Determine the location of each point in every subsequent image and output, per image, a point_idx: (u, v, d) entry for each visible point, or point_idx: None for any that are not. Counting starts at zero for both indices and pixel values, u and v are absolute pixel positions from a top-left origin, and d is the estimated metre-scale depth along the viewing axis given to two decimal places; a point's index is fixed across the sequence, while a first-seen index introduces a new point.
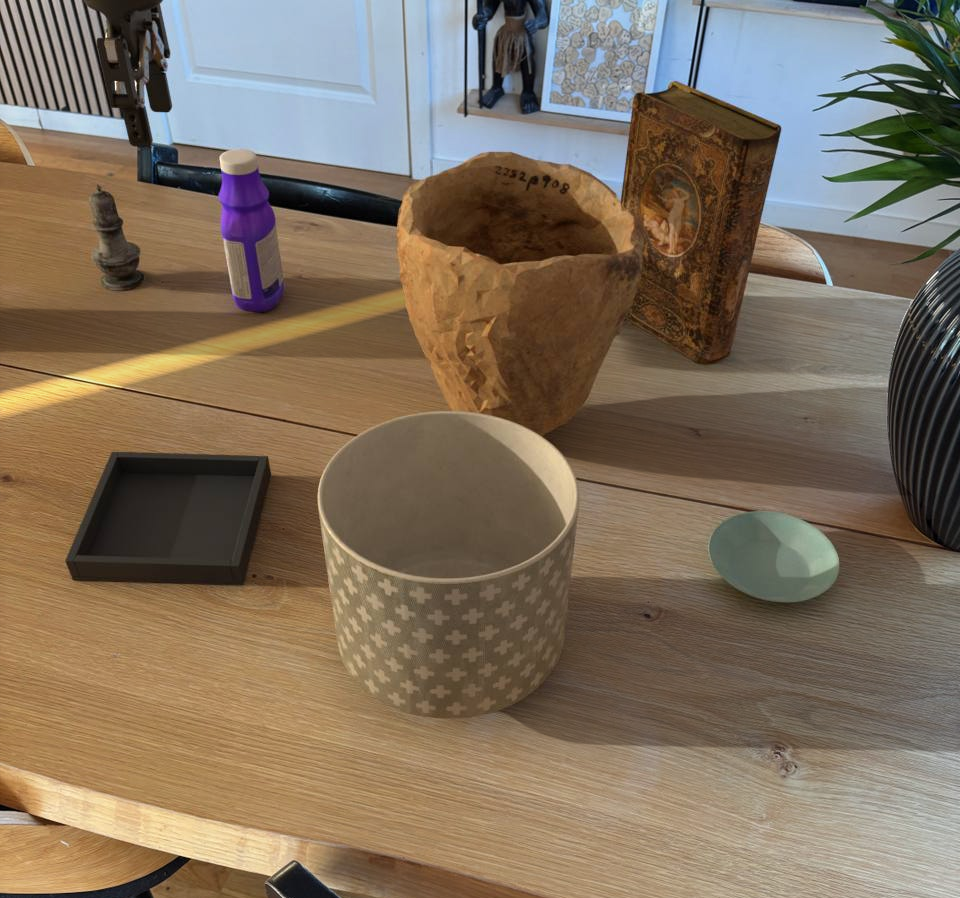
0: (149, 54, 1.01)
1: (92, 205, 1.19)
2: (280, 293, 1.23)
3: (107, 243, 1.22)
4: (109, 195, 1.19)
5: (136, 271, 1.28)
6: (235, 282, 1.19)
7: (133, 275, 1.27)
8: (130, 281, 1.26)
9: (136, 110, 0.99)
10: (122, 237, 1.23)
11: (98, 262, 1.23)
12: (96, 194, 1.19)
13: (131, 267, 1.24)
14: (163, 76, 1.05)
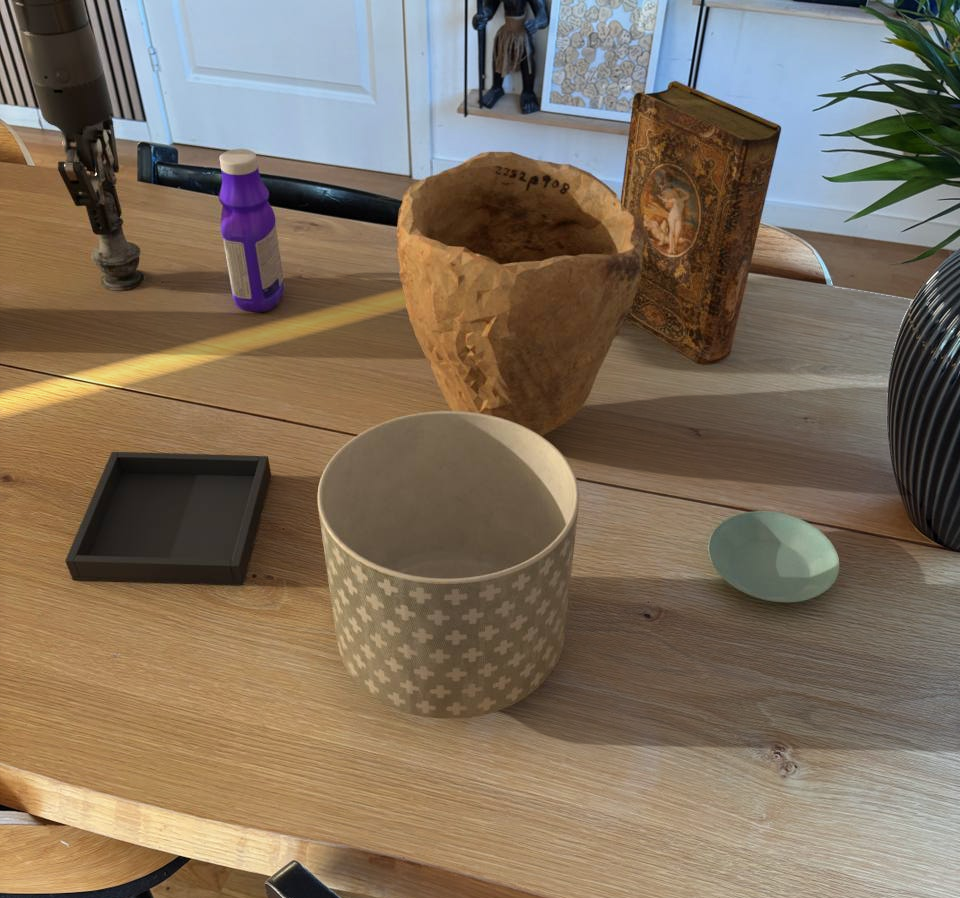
0: (101, 157, 1.17)
1: None
2: (280, 293, 1.23)
3: (107, 243, 1.22)
4: (109, 195, 1.19)
5: (136, 271, 1.28)
6: (235, 282, 1.19)
7: (133, 275, 1.27)
8: (130, 281, 1.26)
9: (97, 206, 1.17)
10: (122, 237, 1.23)
11: (98, 262, 1.23)
12: None
13: (131, 267, 1.24)
14: (112, 189, 1.21)
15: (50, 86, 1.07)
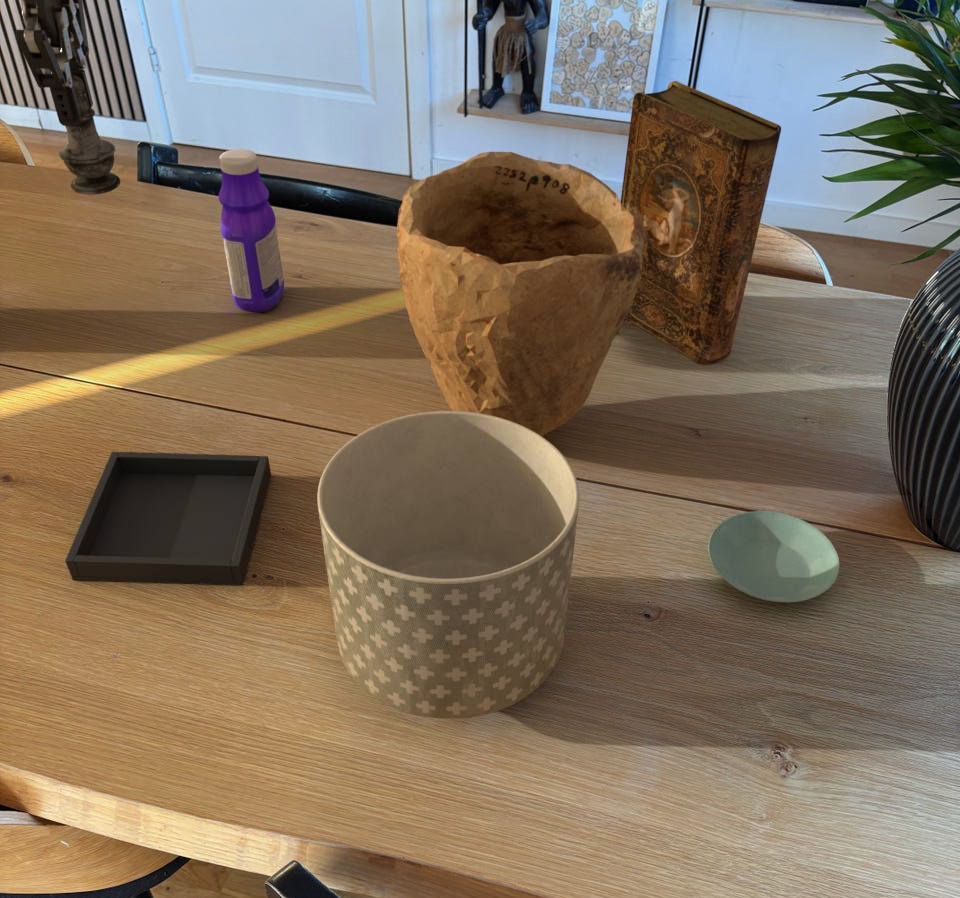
0: (68, 32, 1.01)
1: None
2: (280, 293, 1.23)
3: (77, 137, 1.07)
4: (78, 79, 1.04)
5: (111, 174, 1.13)
6: (235, 282, 1.19)
7: (108, 178, 1.12)
8: (104, 184, 1.11)
9: (64, 90, 1.02)
10: (94, 131, 1.08)
11: (67, 160, 1.08)
12: None
13: (104, 166, 1.09)
14: (82, 73, 1.05)
15: None
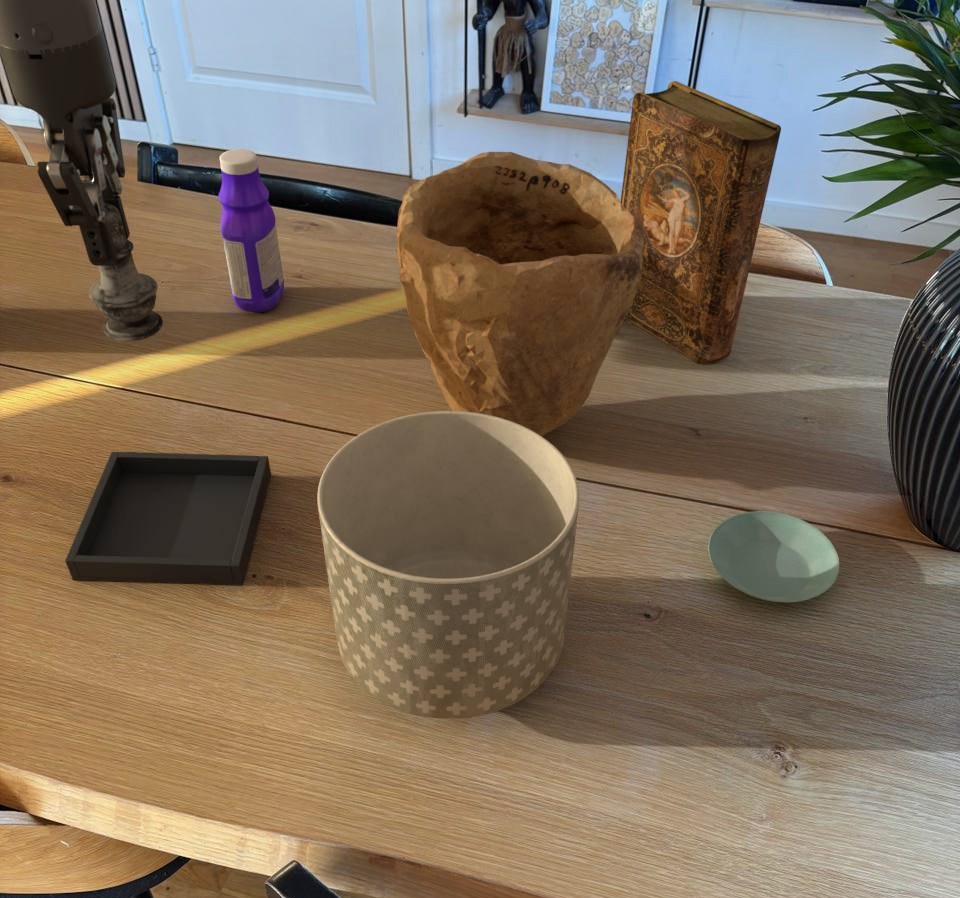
0: (100, 155, 0.81)
1: None
2: (280, 293, 1.23)
3: (111, 276, 0.87)
4: (113, 209, 0.84)
5: (151, 313, 0.93)
6: (235, 282, 1.19)
7: (148, 318, 0.92)
8: (144, 327, 0.91)
9: (96, 226, 0.82)
10: (132, 267, 0.88)
11: (99, 303, 0.88)
12: None
13: (145, 309, 0.89)
14: (117, 201, 0.85)
15: (23, 49, 0.72)
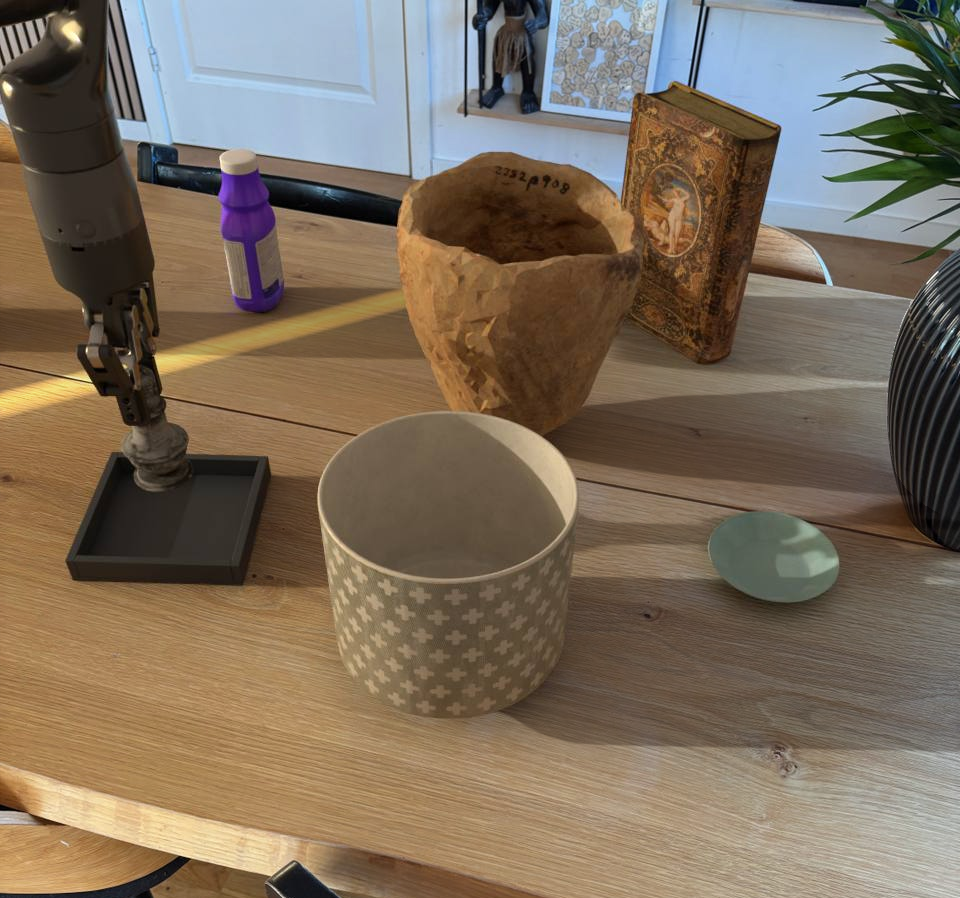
0: (137, 325, 0.82)
1: None
2: (280, 293, 1.23)
3: (144, 433, 0.88)
4: (148, 372, 0.85)
5: None
6: (235, 282, 1.19)
7: (178, 466, 0.93)
8: (174, 477, 0.92)
9: None
10: (165, 424, 0.88)
11: (131, 458, 0.89)
12: None
13: (176, 462, 0.90)
14: (151, 361, 0.86)
15: (66, 242, 0.72)
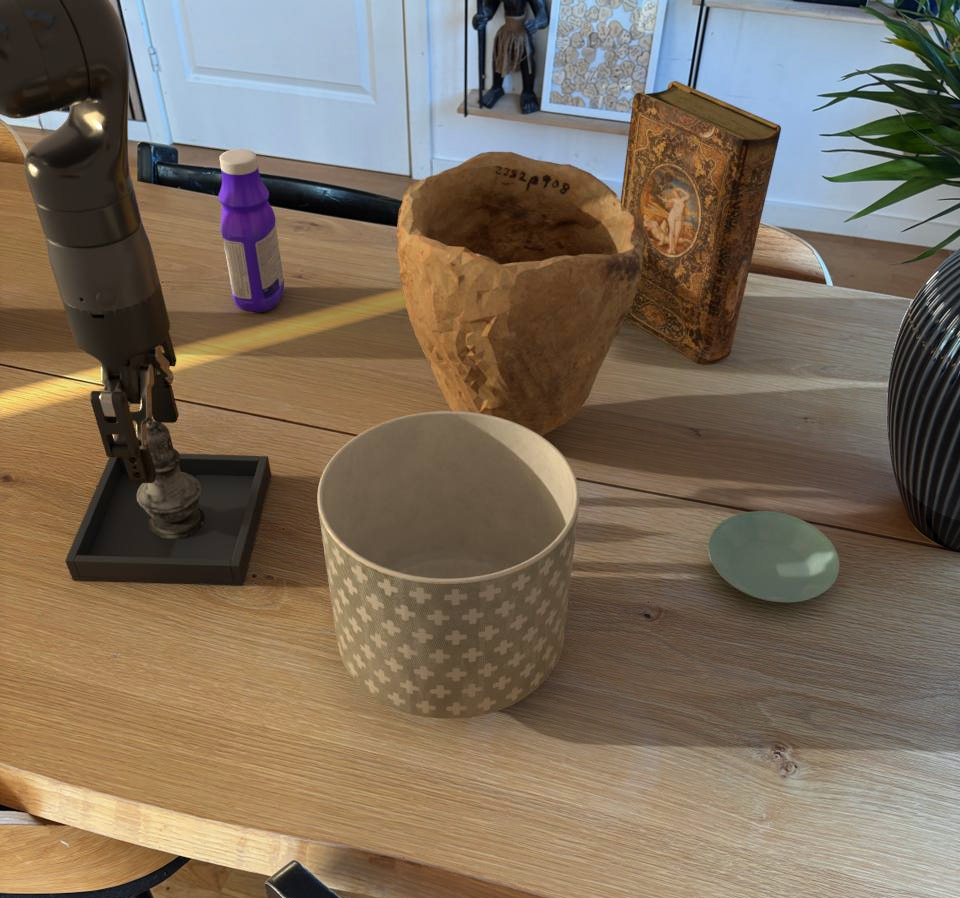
0: None
1: None
2: (280, 293, 1.23)
3: (159, 485, 0.92)
4: (163, 428, 0.89)
5: None
6: (235, 282, 1.19)
7: (191, 514, 0.97)
8: (187, 525, 0.96)
9: None
10: (178, 475, 0.93)
11: (146, 508, 0.93)
12: None
13: (189, 511, 0.94)
14: (168, 390, 0.91)
15: (87, 310, 0.76)
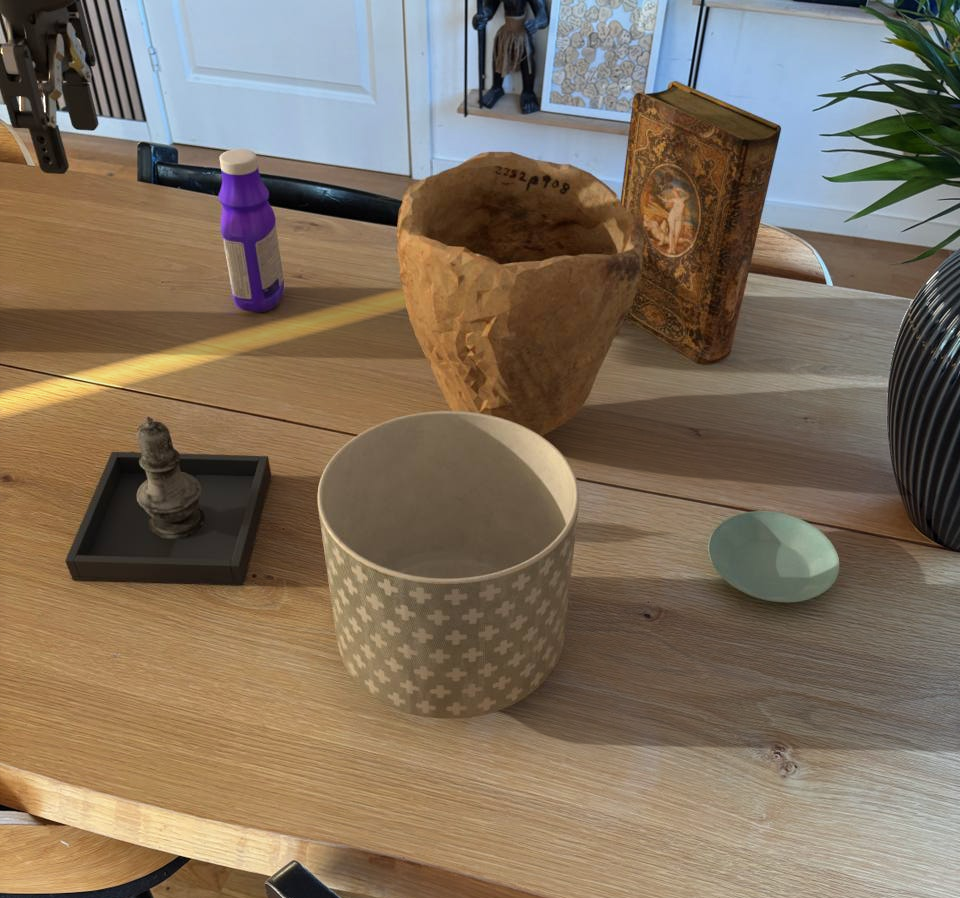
0: (64, 62, 0.83)
1: (140, 442, 0.89)
2: (280, 293, 1.23)
3: (159, 485, 0.92)
4: (163, 428, 0.89)
5: None
6: (235, 282, 1.19)
7: (191, 514, 0.97)
8: (187, 525, 0.96)
9: (45, 131, 0.82)
10: (178, 475, 0.93)
11: (146, 508, 0.93)
12: (146, 428, 0.89)
13: (189, 511, 0.94)
14: (86, 88, 0.88)
15: None
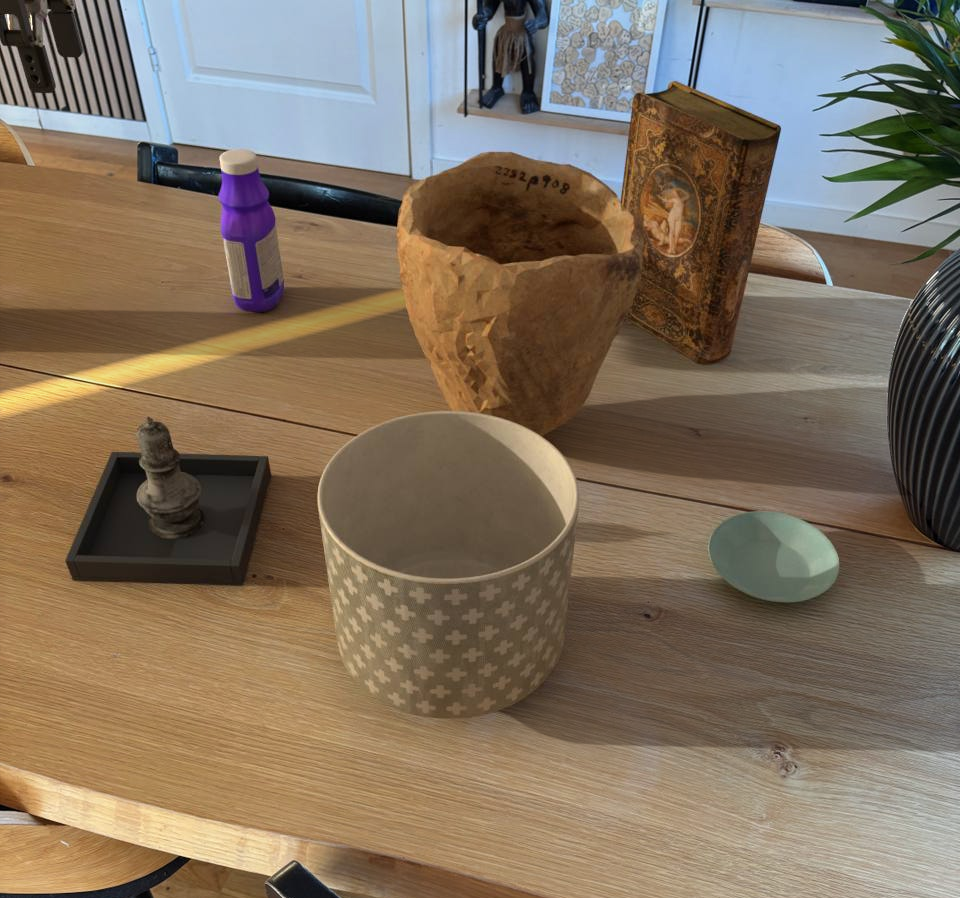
0: None
1: (140, 442, 0.89)
2: (280, 293, 1.23)
3: (159, 485, 0.92)
4: (163, 428, 0.89)
5: None
6: (235, 282, 1.19)
7: (191, 514, 0.97)
8: (187, 525, 0.96)
9: (33, 49, 0.87)
10: (178, 475, 0.93)
11: (146, 508, 0.93)
12: (146, 428, 0.89)
13: (189, 511, 0.94)
14: (70, 15, 0.93)
15: None
